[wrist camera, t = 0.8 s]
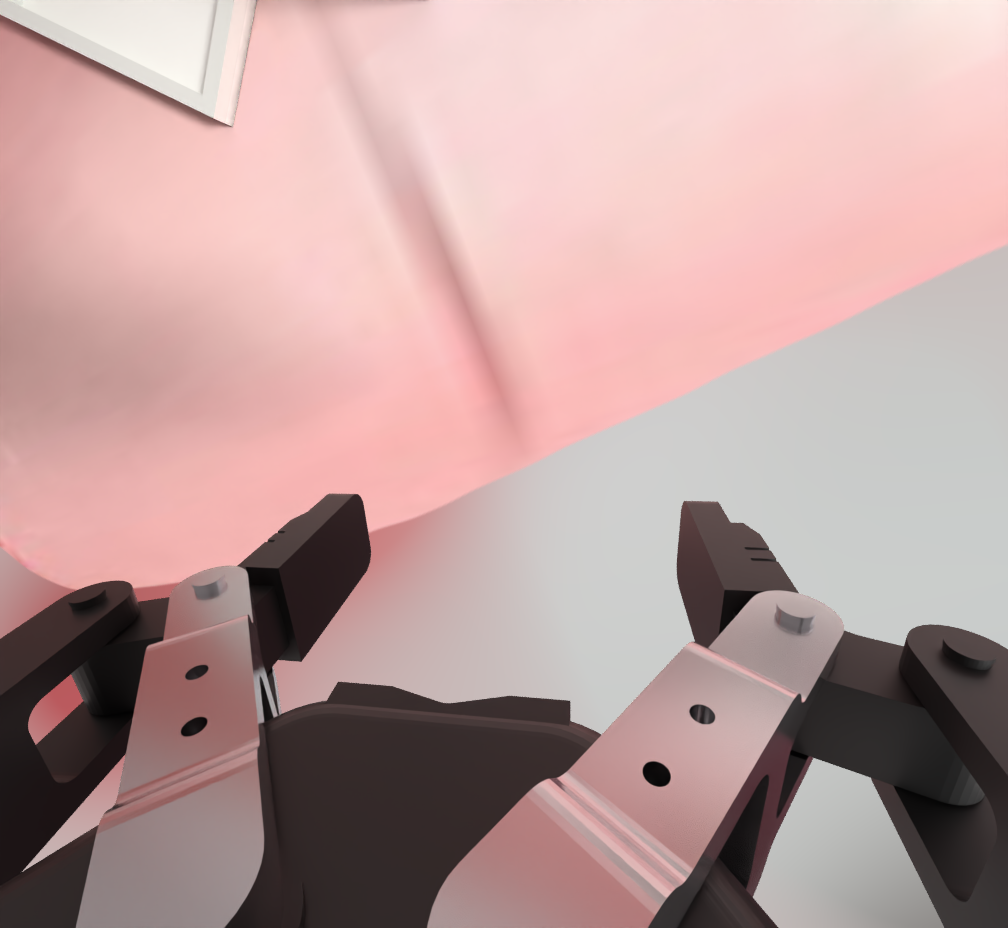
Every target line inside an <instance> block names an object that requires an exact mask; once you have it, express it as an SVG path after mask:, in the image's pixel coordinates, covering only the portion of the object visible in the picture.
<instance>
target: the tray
mask: <svg viewBox="0 0 1008 928" xmlns="http://www.w3.org/2000/svg"><path fill="white" fill-rule="evenodd" d="M256 2H257V0H0V15H2V16H4V17H6V18H8V19H10V20H13V21H15V22H17V23H19V24H21V25H23V26H25V27H27V28H29V29H31V30H33V31H35V32H37V33H39V34H41V35H43V36H45V37H47V38H50V39H52V40H54V41H56V42H58V43H60V44H62V45H64V46H66V47H68V48H70V49H72V50H74V51H76V52H78V53H80V54H82V55H84V56H87V57H89V58H91V59H93V60H95V61H97V62H99V63H101V64H103V65H105V66H107V67H109V68H111V69H113V70H115V71H117V72H119V73H121V74H123V75H126V76H128V77H130V78H132V79H134V80H136V81H138V82H140V83H142V84H144V85H146V86H148V87H150V88H152V89H154V90H156V91H158V92H160V93H163V94H165V95H167V96H169V97H171V98H173V99H175V100H177V101H179V102H181V103H183V104H185V105H187V106H189V107H191V108H193V109H195V110H197V111H200V112H202V113H204V114H206V115H208V116H210V117H212V118H214V119H216V120H218V121H221V122H223V123H225V124H228V125H230V126H232V127H233V124H234V119H235V113H236V108H237V103H238V98H239V92H240V87H241V82H242V76H243V71H244V66H245V61H246V55H247V50H248V45H249V39H250V34H251V29H252V23H253V18H254V13H255V8H256Z"/></svg>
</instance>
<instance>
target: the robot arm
mask: <svg viewBox="0 0 1008 928" xmlns="http://www.w3.org/2000/svg"><path fill="white" fill-rule="evenodd" d="M370 557H371V547H370V541H369V535H368V529H367V523H366V517H365V511H364V505H363V501H362V499H361V497H360V496H359V495H358V494H328V495H326V496H325V497H324V498H323V499H322V500H321V501H320V502H318V503H317V504H316V505H315V506H314V507H313V508H312V509H310V510H309V511H308V512H306V513H304V514H302V515H300V516H298V517H296V518H294V519H292V520H290V521H289V522H288V523H287V524H286V525H285V526H283V527H282V528H281V529H280V530H279V531H278V533H275V534H274V535H273V536H272V537H271V538H269V539H268V542H265V543H264V544H262V545H261V546H260V547H259V548H258V549H257V550H255V551H254V552H253V553H252V554H251V555H250V556H248V557H247V558H246V559H245V560H244V561H243V562H241V563H240V564H239V565H238V566H221V567H216V568H211V569H208V570H204V571H202V572H199V573H197V574H194V575H192V576H190V577H188V578H187V579H185V580H183V581H182V582H180V583H179V584H178V585H177V586H176V587H175V588H174V589H173V590H172V592H171V594H170V597H168V598H161V599H154V600H148V601H141V602H138V601H137V598H136V595H135V593H134V590H133V587H132V585H131V584H130V583H128V582H125V581H108V582H102V583H98V584H94V585H91V586H87V587H84V588H82V589H79V590H77V591H75V592H72V593H70V594H68V595H66V596H64V597H63V598H61V599H59V600H58V601H56V602H55V603H53V604H52V605H50V606H49V607H47V608H46V609H44V610H43V611H41V612H40V613H38V614H37V615H36V616H34V617H32V618H31V619H29V620H28V621H27V622H25V623H23V624H22V625H20V626H19V627H17V628H16V629H14V630H13V631H12V632H10V633H8V634H7V635H5V636H4V637H3V638H1V639H0V928H778V927H777V925H776V924H775V923H774V922H773V921H772V920H771V919H770V917H769V916H768V915H767V914H766V913H765V912H764V910H763V909H762V908H761V907H760V906H759V904H758V903H757V902H756V901H755V900H754V899H753V895H754V893H755V890H756V888H757V886H758V883H759V881H760V878H761V875H762V872H763V870H764V867H765V864H766V861H767V857H768V854H769V852H770V849H771V846H772V844H773V841H774V839H775V837H776V834H777V832H778V830H779V828H780V826H781V824H782V822H783V820H784V818H785V816H786V814H787V812H788V810H789V808H790V806H791V803H792V801H793V799H794V797H795V795H796V793H797V791H798V789H799V787H800V785H801V783H802V781H803V779H804V777H805V775H806V772H807V770H808V768H809V766H810V764H811V762H812V760H813V758H816V759H819V760H822V761H825V762H828V763H831V764H833V765H836V766H839V767H842V768H845V769H848V770H851V771H854V772H857V773H859V774H862V775H865V776H868V777H871V779H872V782H873V784H874V786H875V788H876V790H877V792H878V794H879V796H880V798H881V800H882V802H883V804H884V806H885V808H886V810H887V812H888V814H889V816H890V818H891V820H892V822H893V824H894V826H895V828H896V830H897V832H898V834H899V836H900V838H901V840H902V842H903V844H904V846H905V848H906V851H907V852H908V855H909V857H910V859H911V861H912V862H913V865H914V867H915V869H916V871H917V873H918V875H919V877H920V879H921V881H922V883H923V885H924V887H925V889H926V891H927V893H928V895H929V897H930V899H931V901H932V903H933V905H934V907H935V909H936V911H937V913H938V915H939V917H940V919H941V921H942V923H943V925H944V928H1008V649H1006V648H1005V647H1003V646H1001V645H1000V644H998V643H996V642H994V641H992V640H989V639H987V638H985V637H983V636H980V635H978V634H975V633H972V632H969V631H966V630H962V629H959V628H954V627H950V626H943V625H922V626H918V627H915V628H913V629H912V630H911V631H909V633H908V635H907V638H906V642H905V645H904V646H899V645H895V644H891V643H887V642H883V641H879V640H874V639H870V638H866V637H862V636H858V635H855V634H852V633H850V632H847V631H844V625H843V622H842V620H841V618H840V617H839V616H838V615H837V614H836V613H835V611H833V610H832V609H831V608H829V607H828V606H826V605H825V604H823V603H822V602H820V601H818V600H815V599H813V598H811V597H808V596H805V595H802V594H799V593H798V591H797V590H796V588H795V587H794V585H793V584H792V582H791V581H790V579H789V577H788V576H787V574H786V573H785V571H784V570H783V568H782V567H781V565H780V564H779V562H776V558H775V556H774V555H773V553H772V552H771V551H769V547H768V546H767V544H766V543H765V541H764V540H763V538H762V537H761V535H760V534H759V533H757V532H756V531H754V530H753V529H751V528H749V527H748V526H746V525H745V524H744V523H730V521H729V520H728V518H727V516H726V514H725V513H724V511H723V510H722V507H721V506H720V504H719V503H718V502H702V501H684V502H683V505H682V509H681V519H680V531H679V542H678V554H677V579H678V584H679V589H680V592H681V596H682V599H683V602H684V606H685V609H686V612H687V616H688V619H689V623H690V626H691V629H692V633H693V636H694V639H695V642H690V643H688V644H687V645H686V646H685V647H684V648H683V649H682V650H681V651H680V652H679V653H678V654H677V655H676V656H675V657H674V658H673V660H671V661H670V663H669V664H668V665H667V666H666V667H665V668H664V669H663V670H662V671H661V672H660V673H659V674H658V675H657V676H656V677H655V679H654V680H653V681H652V682H651V683H650V684H649V685H648V686H647V687H646V688H645V689H644V690H643V691H642V692H641V693H640V695H639V696H638V697H637V698H636V699H635V700H634V701H633V702H632V703H631V704H630V705H629V706H628V707H627V708H626V709H625V711H624V712H623V713H622V714H621V715H620V716H619V717H618V718H617V719H616V720H615V721H614V722H613V723H612V724H611V725H610V727H609V728H608V729H607V730H606V731H605V732H604V733H603V734H602V735H601V734H599V733H598V732H596V731H594V730H591V729H589V728H587V727H584V726H583V725H580V724H577V723H574V722H571V721H570V701H566V700H553V699H541V698H529V697H528V698H527V697H517V696H506V697H498V698H490V699H482V700H474V701H466V702H458V703H441V702H438V701H435V700H432V699H429V698H426V697H423V696H420V695H417V694H414V693H411V692H408V691H405V690H402V689H399V688H396V687H393V686H383V685H371V684H359V683H347V682H338V683H337V685H336V687H335V688H334V690H333V691H332V693H331V695H330V696H329V698H328V700H327V701H321V702H317V703H312V704H308V705H305V706H302V707H298V708H295V709H293V710H290V711H288V712H285V713H283V714H282V713H281V707H280V700H279V694H278V687H277V682H276V676H275V673H274V669H273V665H274V664H275V663H276V661H277V660H287V661H300V662H301V661H302V660H303V659H304V657H305V656H306V655H307V653H308V652H309V650H310V649H311V648H312V646H313V645H314V644H315V642H316V641H317V639H318V638H319V636H320V635H321V634H322V632H323V631H324V630H325V628H326V627H327V625H328V624H329V623H330V621H331V620H332V618H333V617H334V616H335V614H336V613H337V612H338V610H339V609H340V607H341V606H342V605H343V603H344V602H345V600H346V599H347V598H348V596H349V595H350V593H351V592H352V591H353V589H354V588H355V587H356V585H357V584H358V582H359V581H360V580H361V578H362V577H363V575H364V574H365V573H366V571H367V569H368V566H369V563H370ZM70 674H71V675H72V677H73V679H74V681H75V683H76V685H77V688H78V690H79V692H80V694H81V696H82V699H83V700H84V701H83V702H82V703H81V704H80V705H79V706H78V707H77V708H76V709H75V710H73V711H72V712H71V713H70V714H69V715H68V716H67V717H66V718H65V719H64V720H63V721H62V722H60V723H59V724H58V725H57V726H56V727H55V728H54V729H53V730H52V731H51V732H50V733H48V735H46V736H45V737H44V738H43V739H42V740H41V741H40V742H39V743H38V744H37V745H35V743H34V741H33V739H32V737H31V735H30V733H29V731H28V721H29V717H30V714H31V712H32V710H33V708H34V707H35V705H36V704H37V703H38V702H39V701H40V700H41V699H42V698H43V697H44V696H45V695H46V694H48V693H49V692H50V691H51V690H52V689H53V688H55V687H56V686H57V685H58V684H60V683H61V682H62V681H63V680H64V679H66V678H67V677H68V676H69V675H70ZM125 754H126V756H125V761H124V767H123V771H122V776H121V782H120V787H119V792H118V797H117V800H116V803H115V805H114V806H113V807H112V808H111V809H109V810H108V811H106V812H105V813H104V815H103V817H102V818H101V821H100V823H99V825H98V826H96V827H94V828H93V829H91V830H90V831H88V832H86V833H85V834H83V835H82V836H80V837H78V838H77V839H75V840H73V841H72V842H70V843H68V844H67V845H65V846H64V847H62V848H60V849H59V850H57V851H56V852H54V853H52V854H51V855H49V856H47V857H46V858H44V859H43V860H41V861H39V862H38V863H36V864H34V865H33V866H31V867H30V868H28V869H26V870H25V871H24V872H22V871H23V870H24V869H25V868H26V866H27V865H28V864H29V863H30V862H31V861H32V860H33V858H34V857H35V856H36V855H37V854H38V853H39V852H40V850H41V849H42V848H43V847H44V846H45V845H46V844H47V842H48V841H49V840H50V839H51V838H52V837H53V836H54V835H55V833H56V832H57V831H58V830H59V829H60V828H61V827H62V825H63V824H64V823H65V822H66V821H67V820H68V818H69V817H70V816H71V815H72V814H73V813H74V812H75V811H76V809H77V808H78V807H79V806H80V805H81V804H82V803H83V802H84V800H85V799H86V798H87V797H88V796H89V795H90V794H91V792H92V791H93V790H94V789H95V788H96V787H97V785H99V783H100V782H101V781H102V780H103V779H104V778H105V776H106V775H107V774H108V773H109V772H110V771H111V770H112V769H113V768H114V766H115V765H116V764H117V763H118V762H119V761H120V760H121V758H122V757H123V756H124V755H125Z"/></svg>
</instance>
